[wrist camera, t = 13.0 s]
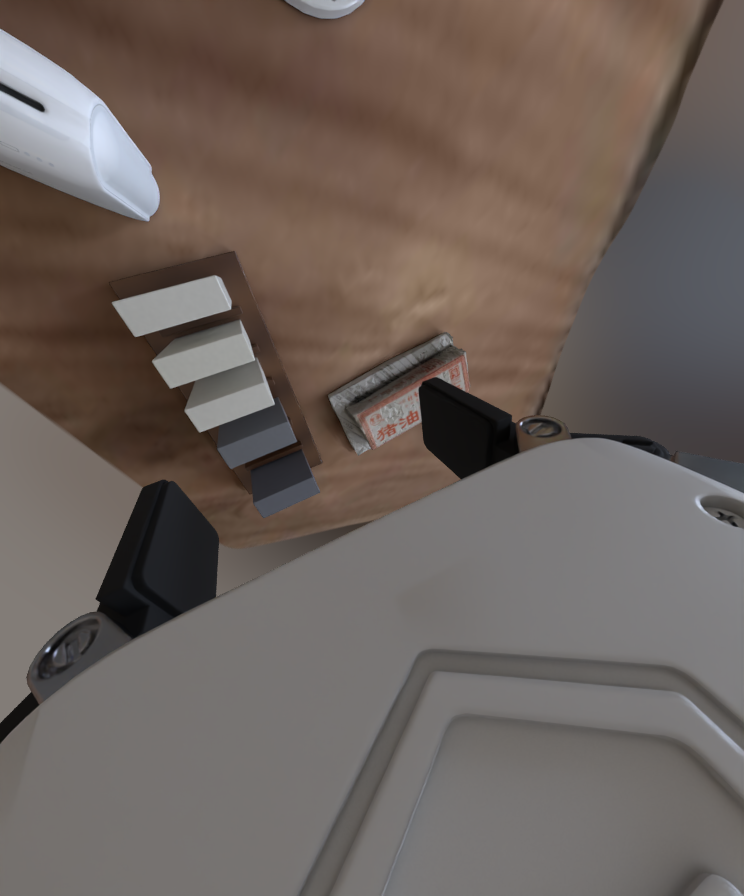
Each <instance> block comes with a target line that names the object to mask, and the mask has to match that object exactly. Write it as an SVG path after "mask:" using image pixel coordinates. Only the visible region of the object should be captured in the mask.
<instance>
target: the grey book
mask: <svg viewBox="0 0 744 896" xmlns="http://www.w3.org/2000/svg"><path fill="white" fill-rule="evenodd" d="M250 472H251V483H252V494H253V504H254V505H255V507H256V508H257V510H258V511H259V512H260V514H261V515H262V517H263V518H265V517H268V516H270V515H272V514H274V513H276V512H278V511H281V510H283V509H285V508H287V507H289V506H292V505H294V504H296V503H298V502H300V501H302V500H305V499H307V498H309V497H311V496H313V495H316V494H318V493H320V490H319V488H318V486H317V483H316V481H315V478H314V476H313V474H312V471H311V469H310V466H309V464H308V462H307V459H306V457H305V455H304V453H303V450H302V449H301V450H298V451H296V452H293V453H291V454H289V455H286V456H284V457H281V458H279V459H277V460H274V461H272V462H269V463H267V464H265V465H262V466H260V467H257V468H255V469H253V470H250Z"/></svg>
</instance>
